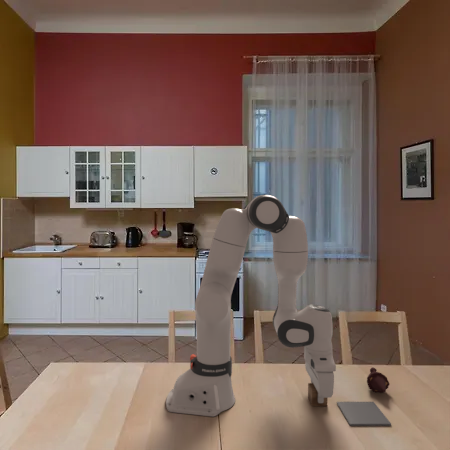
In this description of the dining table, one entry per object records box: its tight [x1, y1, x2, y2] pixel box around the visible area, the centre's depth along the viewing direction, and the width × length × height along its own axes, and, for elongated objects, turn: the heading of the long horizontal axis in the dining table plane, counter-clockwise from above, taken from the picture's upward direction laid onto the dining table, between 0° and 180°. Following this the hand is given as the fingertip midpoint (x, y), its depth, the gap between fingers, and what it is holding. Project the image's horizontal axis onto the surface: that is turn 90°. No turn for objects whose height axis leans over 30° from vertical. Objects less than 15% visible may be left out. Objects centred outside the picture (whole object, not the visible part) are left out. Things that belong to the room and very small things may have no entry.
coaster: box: [336, 401, 392, 427], centre depth 109 cm, size 12×12×1 cm
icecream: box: [366, 366, 390, 394], centre depth 123 cm, size 7×7×15 cm
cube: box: [307, 382, 328, 407], centre depth 116 cm, size 5×5×5 cm
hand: (317, 396), depth 116 cm, fingers closed on cube, 5 cm apart
